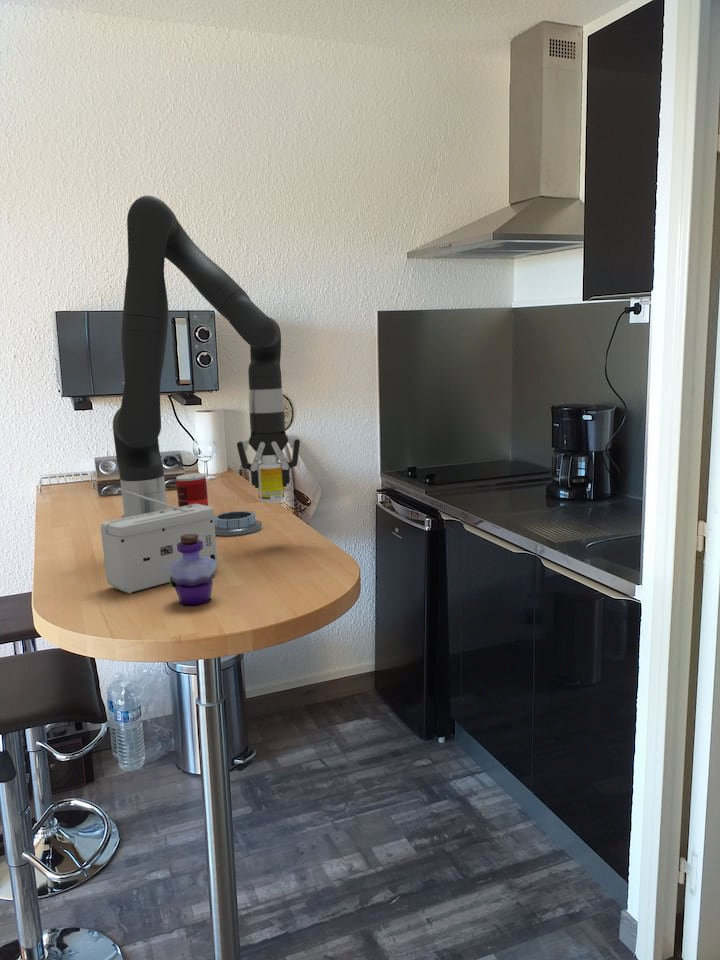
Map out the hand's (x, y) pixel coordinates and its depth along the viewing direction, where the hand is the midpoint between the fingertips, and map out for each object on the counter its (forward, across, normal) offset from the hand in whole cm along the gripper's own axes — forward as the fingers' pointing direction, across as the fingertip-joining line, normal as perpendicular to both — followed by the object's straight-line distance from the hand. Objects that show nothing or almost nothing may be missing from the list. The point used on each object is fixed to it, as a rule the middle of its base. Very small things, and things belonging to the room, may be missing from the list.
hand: (271, 486), depth 166 cm
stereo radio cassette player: (+14, -20, -20) cm, 32 cm away
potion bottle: (+14, -12, -35) cm, 40 cm away
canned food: (+14, -23, +38) cm, 46 cm away
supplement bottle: (+3, 0, 0) cm, 3 cm away
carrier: (+13, -10, +18) cm, 25 cm away
